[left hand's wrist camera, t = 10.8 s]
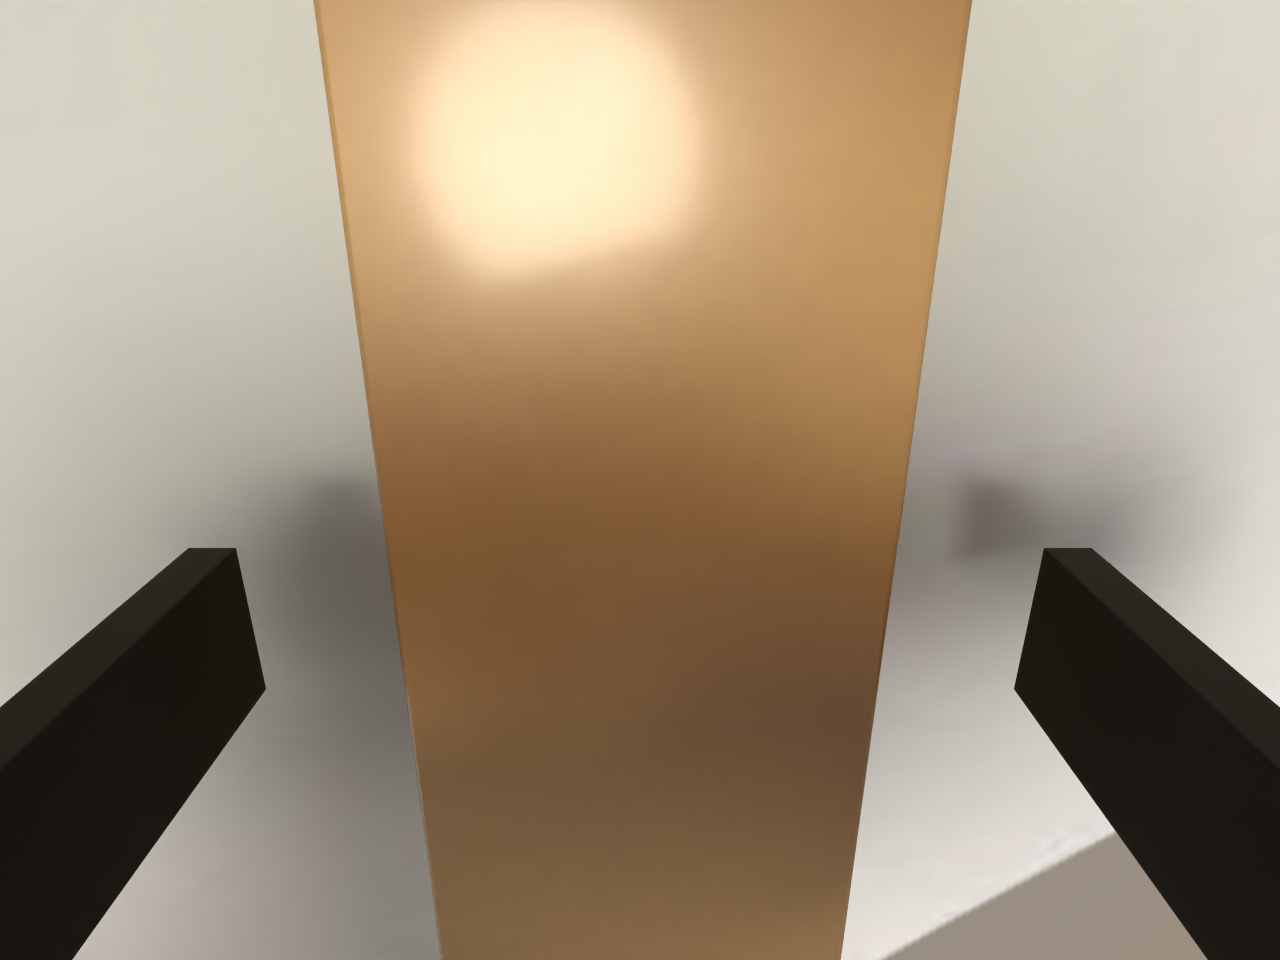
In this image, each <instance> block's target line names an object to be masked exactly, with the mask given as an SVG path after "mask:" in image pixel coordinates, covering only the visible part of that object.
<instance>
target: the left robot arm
mask: <svg viewBox="0 0 1280 960" xmlns="http://www.w3.org/2000/svg"><path fill="white" fill-rule="evenodd" d="M265 690H266V687H265V682H264V678H263V673H262V668H261V664H260V659H259V654H258V649H257V645H256V640H255V635H254V631H253V626H252V621H251V617H250V612H249V607H248V603H247V598H246V593H245V589H244V584H243V579H242V575H241V570H240V565H239V561H238V556H237V551H236V548H188V549H187V550H186V551H185V552H183V553H182V554H181V555H180V556H179V557H178V558H176V559H175V560H174V561H173V562H172V563H170V564H169V565H168V566H167V567H166V568H165V569H163V570H162V571H161V572H160V573H159V574H157V575H156V576H155V577H154V578H153V579H152V580H150V581H149V582H148V583H147V584H146V585H144V586H143V587H142V588H141V589H140V590H139V591H137V592H136V593H135V594H134V595H133V596H131V597H130V598H129V599H128V600H127V601H126V602H124V603H123V604H122V605H121V606H120V607H118V608H117V609H116V610H115V611H114V612H113V613H111V614H110V615H109V616H108V617H107V618H105V619H104V620H103V621H102V622H101V623H99V624H98V625H97V626H96V627H95V628H94V629H92V630H91V631H90V632H89V633H88V634H86V635H85V636H84V637H83V638H82V639H81V640H79V641H78V642H77V643H76V644H75V645H73V646H72V647H71V648H70V649H69V650H68V651H66V652H65V653H64V654H63V655H62V656H60V657H59V658H58V659H57V660H56V661H55V662H53V663H52V664H51V665H50V666H49V667H47V668H46V669H45V670H44V671H43V672H42V673H40V674H39V675H38V676H37V677H36V678H34V679H33V680H32V681H31V682H30V683H29V684H27V685H26V686H25V687H24V688H23V689H21V690H20V691H19V692H18V693H17V694H15V695H14V696H13V697H12V698H11V699H10V700H8V701H7V702H6V703H5V704H4V705H2V706H1V707H0V960H72V959H73V958H74V956H75V955H76V954H77V952H78V951H79V949H80V948H81V947H82V945H83V944H84V942H85V941H86V940H87V938H88V937H89V935H90V934H91V933H92V931H93V930H94V929H95V927H96V926H97V924H98V923H99V922H100V920H101V919H102V917H103V916H104V915H105V913H106V912H107V910H108V909H109V908H110V906H111V905H112V903H113V902H114V901H115V899H116V898H117V896H118V895H119V894H120V892H121V891H122V889H123V888H124V887H125V885H126V884H127V882H128V881H129V880H130V878H131V877H132V875H133V874H134V873H135V871H136V870H137V868H138V867H139V866H140V864H141V863H142V861H143V860H144V859H145V857H146V856H147V854H148V853H149V852H150V850H151V849H152V848H153V846H154V845H155V843H156V842H157V841H158V839H159V838H160V836H161V835H162V834H163V832H164V831H165V829H166V828H167V827H168V825H169V824H170V822H171V821H172V820H173V818H174V817H175V815H176V814H177V813H178V811H179V810H180V808H181V807H182V806H183V804H184V803H185V801H186V800H187V799H188V797H189V796H190V794H191V793H192V792H193V790H194V789H195V787H196V786H197V785H198V783H199V782H200V780H201V779H202V778H203V776H204V775H205V773H206V772H207V771H208V769H209V768H210V766H211V765H212V764H213V762H214V761H215V760H216V758H217V757H218V755H219V754H220V753H221V751H222V750H223V748H224V747H225V746H226V744H227V743H228V741H229V740H230V739H231V737H232V736H233V734H234V733H235V732H236V730H237V729H238V727H239V726H240V725H241V723H242V722H243V720H244V719H245V718H246V716H247V715H248V713H249V712H250V711H251V709H252V708H253V706H254V705H255V704H256V702H257V701H258V699H259V698H260V697H261V695H262V694H263V692H264V691H265ZM1014 690H1015V691H1016V692H1017V694H1018V695H1019V697H1020V698H1021V699H1022V701H1023V702H1024V704H1025V705H1026V706H1027V708H1028V709H1029V711H1030V712H1031V713H1032V715H1033V716H1034V718H1035V719H1036V720H1037V722H1038V723H1039V725H1040V726H1041V727H1042V729H1043V730H1044V732H1045V733H1046V734H1047V736H1048V737H1049V739H1050V740H1051V741H1052V743H1053V744H1054V746H1055V747H1056V748H1057V750H1058V751H1059V753H1060V754H1061V755H1062V757H1063V758H1064V760H1065V761H1066V762H1067V764H1068V765H1069V766H1070V768H1071V769H1072V771H1073V772H1074V773H1075V775H1076V776H1077V778H1078V779H1079V780H1080V782H1081V783H1082V785H1083V786H1084V787H1085V789H1086V790H1087V792H1088V793H1089V794H1090V796H1091V797H1092V799H1093V800H1094V801H1095V803H1096V804H1097V806H1098V807H1099V808H1100V810H1101V811H1102V813H1103V814H1104V815H1105V817H1106V818H1107V820H1108V821H1109V822H1110V824H1111V825H1112V827H1113V828H1114V829H1115V831H1116V832H1117V834H1118V835H1119V836H1120V838H1121V839H1122V841H1123V842H1124V843H1125V845H1126V846H1127V847H1128V849H1129V850H1130V852H1131V853H1132V854H1133V856H1134V857H1135V859H1136V860H1137V861H1138V863H1139V864H1140V866H1141V867H1142V868H1143V870H1144V871H1145V873H1146V874H1147V875H1148V877H1149V878H1150V880H1151V881H1152V882H1153V884H1154V885H1155V886H1156V888H1157V889H1158V891H1159V892H1160V894H1161V895H1162V896H1163V898H1164V899H1165V901H1166V902H1167V903H1168V905H1169V906H1170V908H1171V909H1172V910H1173V912H1174V913H1175V915H1176V916H1177V917H1178V919H1179V920H1180V921H1181V923H1182V924H1183V926H1184V927H1185V929H1186V930H1187V931H1188V933H1189V934H1190V935H1191V937H1192V938H1193V940H1194V941H1195V942H1196V944H1197V945H1198V947H1199V948H1200V949H1201V951H1202V952H1203V954H1204V955H1205V956H1206V958H1207V959H1208V960H1280V707H1279V706H1278V705H1276V704H1275V703H1274V702H1273V701H1272V700H1270V699H1269V698H1268V697H1267V696H1266V695H1264V694H1263V693H1262V692H1261V691H1260V690H1259V689H1257V688H1256V687H1255V686H1254V685H1253V684H1251V683H1250V682H1249V681H1248V680H1247V679H1246V678H1244V677H1243V676H1242V675H1241V674H1240V673H1238V672H1237V671H1236V670H1235V669H1234V668H1233V667H1231V666H1230V665H1229V664H1228V663H1227V662H1225V661H1224V660H1223V659H1222V658H1221V657H1220V656H1218V655H1217V654H1216V653H1215V652H1214V651H1212V650H1211V649H1210V648H1209V647H1208V646H1207V645H1205V644H1204V643H1203V642H1202V641H1201V640H1199V639H1198V638H1197V637H1196V636H1195V635H1194V634H1192V633H1191V632H1190V631H1189V630H1188V629H1186V628H1185V627H1184V626H1183V625H1182V624H1181V623H1179V622H1178V621H1177V620H1176V619H1175V618H1173V617H1172V616H1171V615H1170V614H1169V613H1167V612H1166V611H1165V610H1164V609H1163V608H1162V607H1160V606H1159V605H1158V604H1157V603H1156V602H1154V601H1153V600H1152V599H1151V598H1150V597H1149V596H1147V595H1146V594H1145V593H1144V592H1143V591H1141V590H1140V589H1139V588H1138V587H1137V586H1136V585H1134V584H1133V583H1132V582H1131V581H1130V580H1128V579H1127V578H1126V577H1125V576H1124V575H1123V574H1121V573H1120V572H1119V571H1118V570H1117V569H1115V568H1114V567H1113V566H1112V565H1111V564H1110V563H1108V562H1107V561H1106V560H1105V559H1104V558H1102V557H1101V556H1100V555H1099V554H1098V553H1097V552H1095V551H1094V550H1093V549H1092V548H1044V551H1043V556H1042V561H1041V565H1040V570H1039V575H1038V579H1037V584H1036V589H1035V593H1034V598H1033V603H1032V607H1031V612H1030V617H1029V621H1028V626H1027V631H1026V635H1025V640H1024V645H1023V649H1022V654H1021V659H1020V663H1019V668H1018V673H1017V678H1016V682H1015V687H1014Z"/></svg>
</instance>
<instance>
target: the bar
mask: <svg viewBox="0 0 1280 960" xmlns="http://www.w3.org/2000/svg"><path fill="white" fill-rule="evenodd" d="M313 1H314V8H315V16H316V23H317V31H318V38H319V46H320V53H321V61H322V68H323V76H324V83H325V91H326V98H327V106H328V113H329V121H330V128H331V136H332V143H333V151H334V158H335V166H336V173H337V181H338V188H339V196H340V203H341V211H342V218H343V226H344V233H345V241H346V248H347V256H348V263H349V270H350V278H351V285H352V293H353V300H354V308H355V315H356V323H357V330H358V338H359V345H360V353H361V360H362V368H363V375H364V383H365V390H366V398H367V405H368V413H369V420H370V428H371V435H372V443H373V450H374V458H375V465H376V473H377V480H378V488H379V495H380V503H381V510H382V518H383V525H384V533H385V540H386V548H387V555H388V563H389V570H390V578H391V585H392V593H393V600H394V608H395V615H396V623H397V630H398V638H399V645H400V653H401V660H402V668H403V675H404V683H405V690H406V698H407V705H408V713H409V720H410V728H411V735H412V743H413V750H414V758H415V765H416V773H417V780H418V788H419V795H420V803H421V810H422V818H423V825H424V833H425V840H426V848H427V855H428V863H429V870H430V878H431V885H432V893H433V900H434V908H435V915H436V922H437V930H438V937H439V945H440V952H441V960H841V953H842V945H843V938H844V931H845V924H846V916H847V909H848V902H849V894H850V887H851V880H852V873H853V865H854V858H855V851H856V843H857V836H858V829H859V822H860V814H861V807H862V800H863V792H864V785H865V778H866V771H867V763H868V756H869V749H870V741H871V734H872V727H873V720H874V712H875V705H876V698H877V690H878V683H879V676H880V669H881V661H882V654H883V647H884V639H885V632H886V625H887V617H888V610H889V603H890V596H891V588H892V581H893V574H894V566H895V559H896V552H897V545H898V537H899V530H900V523H901V515H902V508H903V501H904V494H905V486H906V479H907V472H908V464H909V457H910V450H911V443H912V435H913V428H914V421H915V413H916V406H917V399H918V392H919V384H920V377H921V370H922V362H923V355H924V348H925V341H926V333H927V326H928V319H929V311H930V304H931V297H932V290H933V282H934V275H935V268H936V260H937V253H938V246H939V239H940V231H941V224H942V217H943V209H944V202H945V195H946V187H947V180H948V173H949V166H950V158H951V151H952V144H953V136H954V129H955V122H956V115H957V107H958V100H959V93H960V85H961V78H962V71H963V64H964V56H965V49H966V42H967V34H968V27H969V20H970V13H971V5H972V0H313Z"/></svg>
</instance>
